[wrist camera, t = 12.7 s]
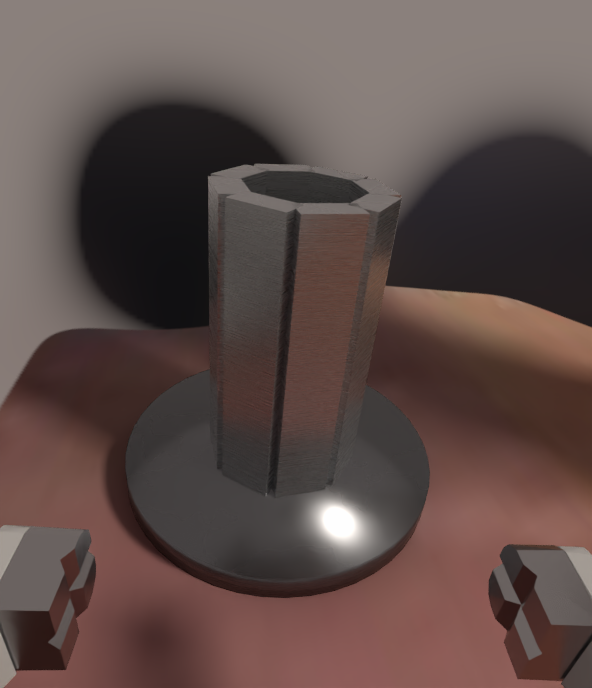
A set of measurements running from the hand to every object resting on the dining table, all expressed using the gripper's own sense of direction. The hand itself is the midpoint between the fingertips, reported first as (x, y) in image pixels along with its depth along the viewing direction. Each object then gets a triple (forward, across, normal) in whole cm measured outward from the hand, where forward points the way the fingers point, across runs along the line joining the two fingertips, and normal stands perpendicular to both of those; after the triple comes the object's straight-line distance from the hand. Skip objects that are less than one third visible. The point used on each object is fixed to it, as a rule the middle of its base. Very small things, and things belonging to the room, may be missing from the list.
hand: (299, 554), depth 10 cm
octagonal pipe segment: (+12, 0, +8) cm, 14 cm away
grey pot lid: (+12, 0, +9) cm, 15 cm away
